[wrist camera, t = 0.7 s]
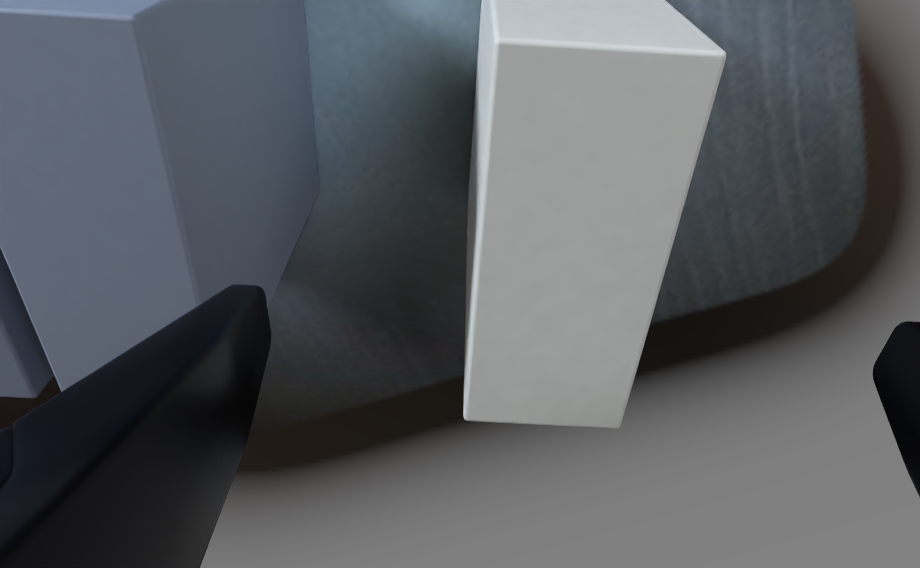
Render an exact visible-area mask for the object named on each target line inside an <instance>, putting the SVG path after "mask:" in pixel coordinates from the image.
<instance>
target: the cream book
mask: <svg viewBox="0 0 920 568" xmlns="http://www.w3.org/2000/svg"><path fill="white" fill-rule="evenodd" d="M725 60H726V52H725V51H724V50H723V49H722V48H720V47H719V46H718V45H717V44H716V43H715V42H713V41H712V40H711V39H710V38H709V37H708V36H706V35H705V34H704V33H703V32H702V31H701V30H699V29H698V28H697V27H696V26H695V25H694V24H692V23H691V22H690V21H689V20H688V19H687V18H685V17H684V16H683V15H682V14H681V13H680V12H678V11H677V10H676V9H675V8H674V7H672V6H671V5H670V4H669V3H668V2H667V1H665V0H482V2H481V17H480V31H479V46H478V61H477V76H476V90H475V105H474V120H473V134H472V149H471V164H470V179H469V193H468V227H467V273H466V319H465V365H464V412H463V416H464V419H465V420H467V421H479V422H498V423H518V424H536V425H556V426H576V427H593V428H613V429H617V428H620V426H621V423H622V419H623V415H624V412H625V409H626V405H627V402H628V398H629V395H630V391H631V388H632V384H633V381H634V377H635V374H636V370H637V367H638V363H639V360H640V356H641V353H642V350H643V346H644V343H645V339H646V336H647V332H648V329H649V325H650V322H651V318H652V315H653V311H654V308H655V304H656V301H657V297H658V294H659V290H660V287H661V283H662V280H663V276H664V273H665V269H666V266H667V262H668V259H669V255H670V252H671V248H672V245H673V241H674V238H675V235H676V231H677V228H678V224H679V221H680V217H681V214H682V210H683V207H684V203H685V200H686V196H687V193H688V189H689V186H690V182H691V179H692V175H693V172H694V168H695V165H696V161H697V158H698V154H699V151H700V147H701V144H702V140H703V137H704V133H705V130H706V126H707V123H708V119H709V116H710V113H711V109H712V106H713V102H714V99H715V95H716V92H717V88H718V85H719V81H720V78H721V74H722V71H723V67H724V64H725Z"/></svg>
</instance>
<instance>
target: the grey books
mask: <svg viewBox="0 0 920 568" xmlns="http://www.w3.org/2000/svg"><path fill="white" fill-rule="evenodd" d="M318 193H319V181H318V168H317V156H316V144H315V131H314V119H313V107H312V94H311V82H310V70H309V57H308V45H307V33H306V20H305V8H304V0H0V397H16V398H36V397H37V396H38V395H39V394H40V392H41V391H42V390H43V389H44V387H45V386H46V385H47V383H48V382H49V381H50V380H51V378H52V377H53V376H54V375H55V378H56V380H57V382H58V385H59V387H60V389H61V392H62V391H64V390H65V389H67V388H68V387H70V386H72V385H73V384H75V383H76V382H78V381H79V380H81V379H83V378H84V377H86V376H87V375H89V374H91V373H92V372H94V371H95V370H97V369H98V368H100V367H102V366H103V365H105V364H106V363H108V362H110V361H111V360H113V359H114V358H116V357H118V356H119V355H121V354H122V353H124V352H125V351H127V350H129V349H130V348H132V347H133V346H135V345H137V344H138V343H140V342H141V341H143V340H144V339H146V338H148V337H149V336H151V335H152V334H154V333H156V332H157V331H159V330H160V329H162V328H164V327H165V326H167V325H168V324H170V323H171V322H173V321H175V320H176V319H178V318H179V317H181V316H183V315H184V314H186V313H187V312H189V311H190V310H192V309H194V308H195V307H197V306H198V305H200V304H202V303H203V302H205V301H206V300H208V299H210V298H211V297H213V296H214V295H216V294H217V293H219V292H221V291H222V290H224V289H225V288H227V287H229V286H231V285H233V284H243V285H258V286H260V287H262V288H263V290H264V292H265V296H266V302H267V308H268V306H269V304H270V301H271V299H272V297H273V295H274V292H275V290H276V288H277V286H278V283H279V281H280V279H281V277H282V274H283V272H284V270H285V268H286V265H287V263H288V261H289V259H290V256H291V254H292V252H293V250H294V247H295V245H296V243H297V241H298V238H299V236H300V234H301V232H302V229H303V227H304V225H305V223H306V220H307V218H308V216H309V214H310V211H311V209H312V207H313V204H314V202H315V200H316V198H317V195H318Z"/></svg>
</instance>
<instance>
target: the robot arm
mask: <svg viewBox="0 0 920 568" xmlns="http://www.w3.org/2000/svg"><path fill="white" fill-rule="evenodd" d="M270 344H271V329H270V322H269V315H268V309H267V302H266V296H265V292H264V290H263V288H262V287H260V286H258V285H243V284H233V285H231V286H229V287H227V288H225V289H224V290H222V291H221V292H219V293H217V294H216V295H214V296H213V297H211V298H210V299H208V300H206V301H205V302H203V303H202V304H200V305H198V306H197V307H195V308H194V309H192V310H190V311H189V312H187V313H186V314H184V315H183V316H181V317H179V318H178V319H176V320H175V321H173V322H171V323H170V324H168V325H167V326H165V327H164V328H162V329H160V330H159V331H157V332H156V333H154V334H152V335H151V336H149V337H148V338H146V339H144V340H143V341H141V342H140V343H138V344H137V345H135V346H133V347H132V348H130V349H129V350H127V351H125V352H124V353H122V354H121V355H119V356H118V357H116V358H114V359H113V360H111V361H110V362H108V363H106V364H105V365H103V366H102V367H100V368H98V369H97V370H95V371H94V372H92V373H91V374H89V375H87V376H86V377H84V378H83V379H81V380H79V381H78V382H76V383H75V384H73V385H72V386H70V387H68V388H67V389H65V390H64V391H62V392H60V393H59V394H57V395H56V396H54V397H52V398H51V399H49V400H48V401H46V402H45V403H43V404H41V405H40V406H38V407H37V408H35V409H33V410H32V411H30V412H29V413H27V414H25V415H24V416H22V417H21V418H19V419H18V420H16V421H15V422H14V423H13V425H12V427H10V426H7V427H5V428H3V429H1V430H0V568H200V566H201V563H202V560H203V558H204V555H205V552H206V550H207V547H208V544H209V541H210V539H211V536H212V533H213V531H214V528H215V526H216V523H217V520H218V518H219V515H220V513H221V510H222V507H223V504H224V502H225V499H226V496H227V494H228V491H229V489H230V486H231V483H232V481H233V478H234V475H235V473H236V470H237V467H238V465H239V462H240V459H241V457H242V454H243V451H244V448H245V445H246V442H247V439H248V436H249V432H250V428H251V424H252V420H253V416H254V412H255V408H256V404H257V399H258V395H259V391H260V387H261V383H262V379H263V375H264V371H265V366H266V362H267V358H268V354H269V350H270ZM873 380H874V383H875V386H876V388H877V391H878V394H879V396H880V399H881V402H882V405H883V407H884V410H885V412H886V415H887V418H888V421H889V423H890V426H891V429H892V431H893V434H894V437H895V439H896V442H897V444H898V447H899V450H900V452H901V455H902V458H903V461H904V463H905V466H906V468H907V470H908V473H909V475H910V478H911V480H912V482H913V484H914V486H915V488H916V490H917V492H918V494H919V496H920V322H903V323H901V324H899V325H898V326H897V327H896V328H895V329H894V330H893V332H892V334H891V336H890V337H889V339H888V341H887V343H886V344H885V346H884V348H883V350H882V352H881V353H880V355H879V357H878V359H877V360H876V362H875V364H874V368H873Z"/></svg>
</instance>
